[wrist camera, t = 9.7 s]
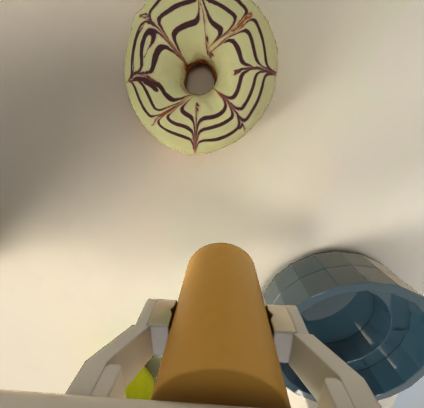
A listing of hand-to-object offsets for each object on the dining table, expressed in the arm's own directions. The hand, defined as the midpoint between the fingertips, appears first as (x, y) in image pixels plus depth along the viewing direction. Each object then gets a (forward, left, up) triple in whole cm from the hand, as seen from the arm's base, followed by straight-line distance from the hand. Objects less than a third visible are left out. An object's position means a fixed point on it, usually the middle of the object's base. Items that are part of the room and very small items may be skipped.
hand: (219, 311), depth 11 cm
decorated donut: (-12, +5, -11) cm, 17 cm away
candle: (0, 0, -3) cm, 3 cm away
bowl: (+14, +6, -10) cm, 18 cm away
